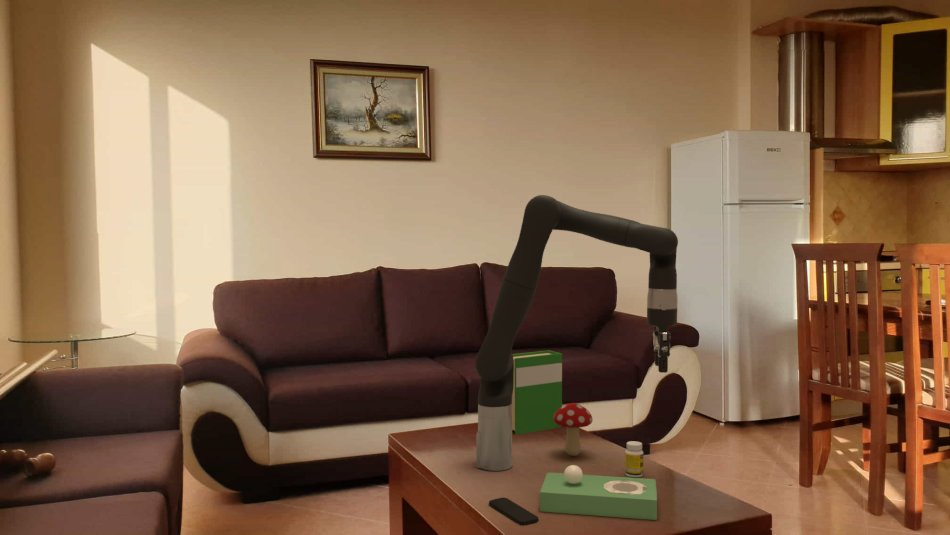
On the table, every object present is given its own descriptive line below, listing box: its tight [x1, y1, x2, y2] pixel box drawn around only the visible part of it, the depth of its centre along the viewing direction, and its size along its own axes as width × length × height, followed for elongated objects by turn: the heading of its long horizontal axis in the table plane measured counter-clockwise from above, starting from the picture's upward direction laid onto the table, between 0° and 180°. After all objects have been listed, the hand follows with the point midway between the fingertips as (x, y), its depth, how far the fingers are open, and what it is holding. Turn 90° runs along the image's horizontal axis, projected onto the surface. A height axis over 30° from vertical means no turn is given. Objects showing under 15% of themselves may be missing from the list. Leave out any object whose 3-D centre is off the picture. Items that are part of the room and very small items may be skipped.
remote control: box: [488, 497, 540, 527], centre depth 172 cm, size 5×2×15 cm
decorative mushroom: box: [554, 402, 593, 457], centre depth 213 cm, size 11×11×15 cm
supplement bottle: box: [624, 440, 644, 478], centre depth 197 cm, size 5×5×8 cm
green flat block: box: [539, 472, 658, 521], centre depth 177 cm, size 26×14×4 cm, turn 78°
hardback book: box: [512, 349, 563, 436], centre depth 243 cm, size 18×7×24 cm, turn 120°
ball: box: [563, 464, 584, 484], centre depth 178 cm, size 4×4×4 cm
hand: (660, 368), depth 194 cm, fingers open, 8 cm apart
